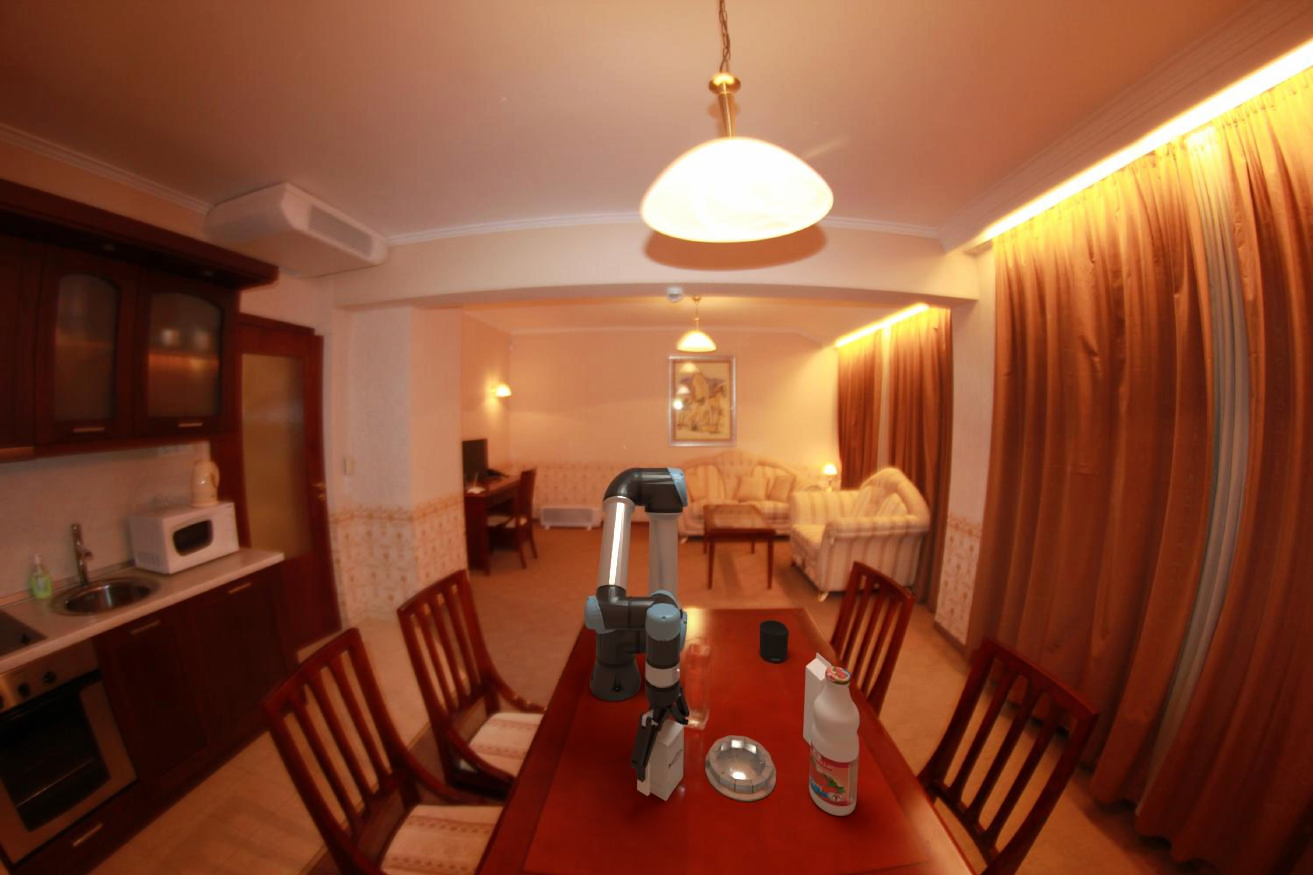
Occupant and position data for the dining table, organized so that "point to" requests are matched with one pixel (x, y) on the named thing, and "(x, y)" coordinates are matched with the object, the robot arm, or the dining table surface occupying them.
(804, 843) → the dining table surface
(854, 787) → the fruit juice
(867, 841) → the dining table surface
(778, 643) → the black smart speaker
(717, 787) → the silver round shallow dish
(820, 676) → the milk
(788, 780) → the dining table surface
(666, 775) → the supplement box
